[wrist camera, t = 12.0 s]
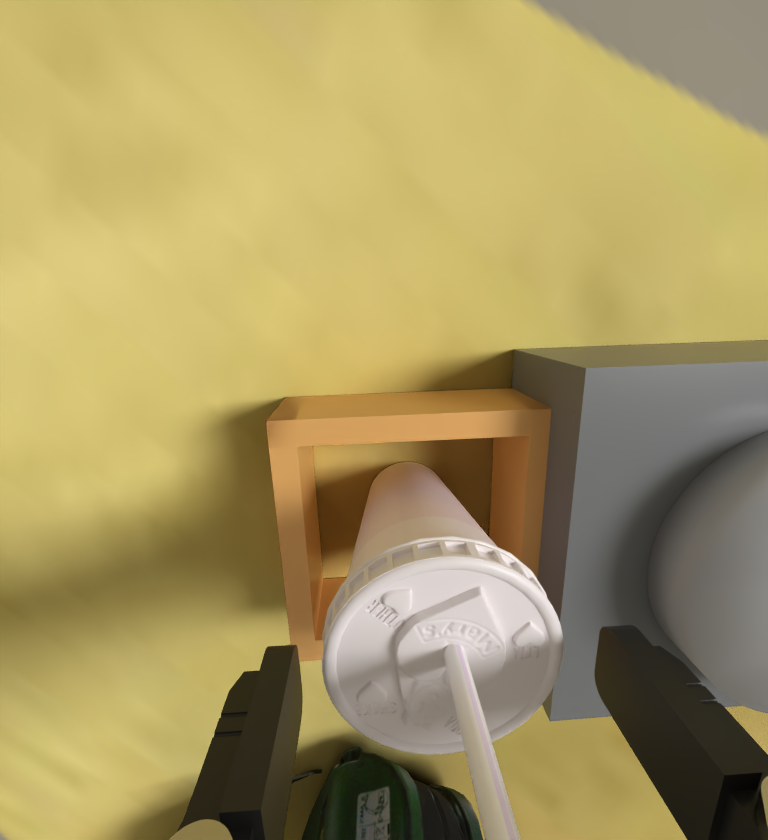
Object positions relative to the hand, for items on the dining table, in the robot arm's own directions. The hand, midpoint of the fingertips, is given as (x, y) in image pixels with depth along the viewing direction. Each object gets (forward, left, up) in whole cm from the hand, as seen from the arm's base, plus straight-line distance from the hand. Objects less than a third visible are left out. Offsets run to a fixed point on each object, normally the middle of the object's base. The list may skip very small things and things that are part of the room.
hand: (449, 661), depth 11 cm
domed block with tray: (-8, 0, -9) cm, 12 cm away
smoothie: (0, 0, -10) cm, 10 cm away
